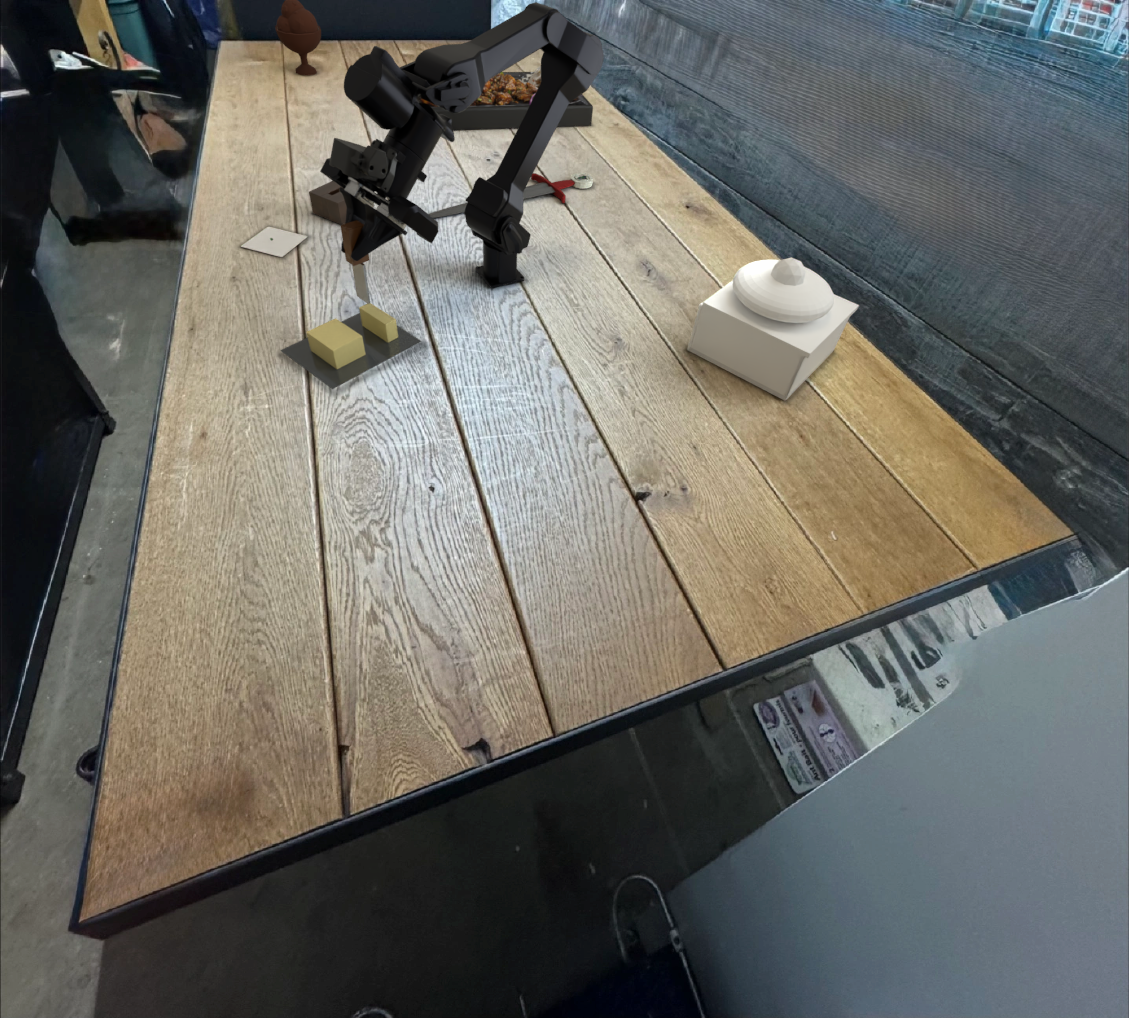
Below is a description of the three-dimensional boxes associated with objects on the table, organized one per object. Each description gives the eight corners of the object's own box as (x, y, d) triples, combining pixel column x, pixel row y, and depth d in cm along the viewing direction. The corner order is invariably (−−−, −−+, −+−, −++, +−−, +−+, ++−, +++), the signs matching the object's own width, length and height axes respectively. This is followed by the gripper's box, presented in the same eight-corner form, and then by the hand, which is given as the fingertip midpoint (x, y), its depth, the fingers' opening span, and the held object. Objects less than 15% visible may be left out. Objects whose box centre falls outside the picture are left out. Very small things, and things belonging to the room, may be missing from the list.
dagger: (394, 194, 129) (393, 186, 128) (583, 175, 142) (583, 167, 141) (409, 222, 122) (408, 213, 121) (606, 199, 135) (607, 191, 134)
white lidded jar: (740, 307, 112) (769, 216, 100) (836, 352, 106) (880, 261, 94) (686, 350, 103) (711, 255, 91) (788, 403, 96) (830, 308, 84)
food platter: (561, 90, 176) (564, 45, 168) (591, 125, 161) (596, 77, 153) (391, 93, 164) (386, 44, 156) (407, 131, 149) (402, 79, 142)
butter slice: (372, 320, 100) (369, 302, 97) (398, 337, 98) (396, 319, 95) (362, 325, 99) (358, 307, 96) (388, 343, 97) (385, 324, 94)
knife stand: (367, 211, 124) (364, 189, 121) (341, 225, 120) (337, 203, 116) (339, 200, 126) (335, 178, 123) (312, 213, 121) (308, 191, 118)
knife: (365, 292, 96) (354, 218, 87) (377, 300, 94) (367, 226, 86) (350, 298, 94) (337, 223, 86) (361, 306, 93) (350, 231, 85)
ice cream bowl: (275, 74, 166) (259, 1, 155) (299, 62, 173) (286, -9, 162) (313, 81, 165) (299, 9, 154) (335, 69, 172) (324, -1, 161)
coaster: (308, 236, 116) (307, 232, 115) (281, 257, 111) (280, 252, 110) (268, 226, 117) (267, 222, 116) (240, 246, 112) (239, 242, 111)
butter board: (370, 312, 103) (369, 307, 102) (422, 345, 98) (421, 341, 98) (281, 354, 94) (280, 350, 93) (333, 393, 90) (332, 388, 89)
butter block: (339, 336, 97) (335, 318, 94) (365, 354, 94) (362, 335, 92) (310, 350, 94) (305, 331, 92) (337, 369, 92) (332, 350, 89)
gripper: (318, 87, 82) (261, 200, 85) (411, 136, 75) (346, 258, 77) (378, 140, 92) (326, 239, 95) (466, 188, 85) (406, 294, 87)
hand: (348, 256), depth 88 cm, fingers closed on knife, 2 cm apart
